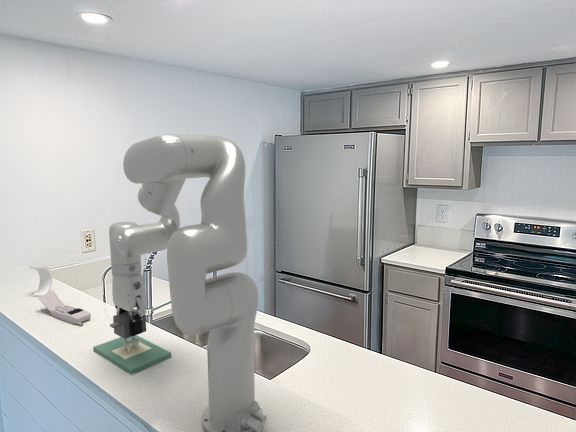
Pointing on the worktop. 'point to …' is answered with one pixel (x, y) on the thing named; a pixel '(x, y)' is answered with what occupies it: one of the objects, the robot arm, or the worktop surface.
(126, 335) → the block
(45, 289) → the headphone stand
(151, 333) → the worktop surface
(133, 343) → the header board
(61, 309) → the mobile phone
